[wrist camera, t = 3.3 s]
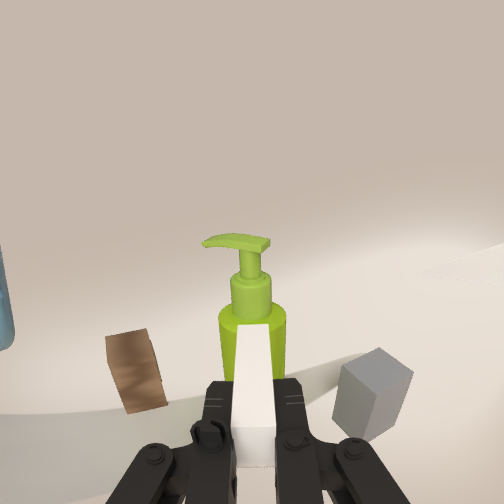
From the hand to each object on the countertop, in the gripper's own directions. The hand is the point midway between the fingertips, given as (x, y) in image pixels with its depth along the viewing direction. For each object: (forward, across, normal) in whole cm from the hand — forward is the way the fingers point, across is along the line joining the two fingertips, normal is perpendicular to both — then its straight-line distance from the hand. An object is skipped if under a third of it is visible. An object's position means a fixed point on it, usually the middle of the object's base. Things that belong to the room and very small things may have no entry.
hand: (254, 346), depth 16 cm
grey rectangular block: (+8, +11, -18) cm, 23 cm away
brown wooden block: (+13, -14, -17) cm, 26 cm away
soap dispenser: (+11, -1, -18) cm, 21 cm away
